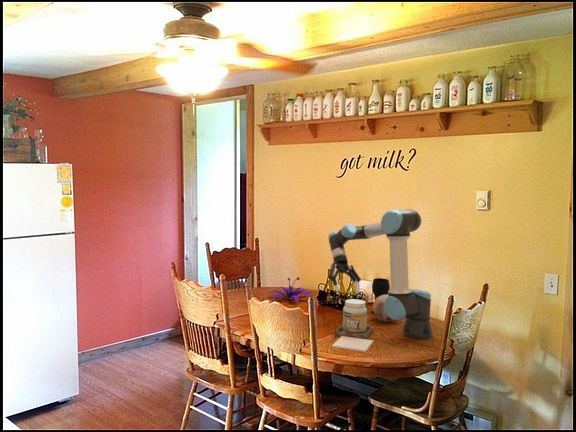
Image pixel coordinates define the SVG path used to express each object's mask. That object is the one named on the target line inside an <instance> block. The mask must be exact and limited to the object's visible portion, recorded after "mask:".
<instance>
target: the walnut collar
mask: <svg viewBox="0 0 576 432" xmlns="http://www.w3.org/2000/svg"><path fill="white" fill-rule="evenodd" d="M342 329H343V323H342V324H341V325H339V326H338V327H337V329H335V330H334V337H338V338H340V337H341V336H345V337H352V338H359V339H367V340H368V339H369V337H370V336H371V335H372V334H373V332H374V326H368V325H366V333H365V335H364V334H357V333H349V332H343V331H342Z"/></svg>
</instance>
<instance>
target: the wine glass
mask: <svg viewBox="0 0 576 432" xmlns="http://www.w3.org/2000/svg"><path fill="white" fill-rule="evenodd" d="M390 289H391V283H390V280H389V279H388V278H384V277H380V278H379V277H376V278H373V280H372V284H371V290H372V293H373V295H374V297H376V299H377V298H378V297H379V296H381V295H388V291H389V290H390ZM370 312H371V314H372V315H373V314H374V312H373V310H371V311H370ZM374 315H375V314H374Z"/></svg>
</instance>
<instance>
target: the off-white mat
mask: <svg viewBox="0 0 576 432" xmlns="http://www.w3.org/2000/svg"><path fill="white" fill-rule="evenodd" d="M373 343H374V340H373V339H368V338H367V339H359V338H352V337H345V336H341V337H338V338H337V340H336V341H335V342H334V343H333V344H332V345H331V347H332V348H337V349H342V350H351V351H357V352H364V353H367V351H368V350H369V348H370V347H371V346H372V344H373Z"/></svg>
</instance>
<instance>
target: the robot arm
mask: <svg viewBox="0 0 576 432" xmlns="http://www.w3.org/2000/svg"><path fill="white" fill-rule="evenodd" d="M421 224H422V217H421V215H420V214H419V212H418V211H416V210H415V209H411V208H409V209H408V208H407V209H406V208H405V209H389V210H387V211H386V212H385V213H384V214H383V215H382V217H381V220H380V221H376V222H373V223H370V224H365V225H359V226H355V225H354V224H352V223H347V224H345V225H343V226H342V227H341V228H340V229H339V230H338V231H332V232H331V233H329V234H328V243H329V248H330V251H331V254H332V255H331V256H332V258H333V262H332V263H331V264H330V271H329V275H328V279H329V280H330V281H331V282H332V284H333V286H334V290H335V292H338V291H340V285H339V279H338V278H337V277H338V275H339V274H345V275H347V276H348V277H349V278H350V279H351V280H352V282H353V285H354V290H355V294H357V295H358V294H359V293H361V290H360V283H359V282H361V281H362V279H361V277H360V276H359V274H358V273H357V271H356V270H355V269H354V266H353V265H349V263H348V257H347V253H346V249H345V246H344V245H345V244H346V243H348V242H349V241H355V240H369V239H371V238H374V237H380V236H384V235H385V236H386V238H387V239H388V241H389V268H390V269H389V270H390V290H389V291H388V297H387V298H386V299H385V300H384V309H385V312H386V314H388V316H389V317H390V318H392V319H394V321H396V320H404V319H406V320H405V322H404V325H403V327H402V335H404V336H405V337H407V338H411V339H416V340H425V339H426V340H427V339H431V338H432V337H433V336H434V332H433V331H434V330H433V328H432V324H431V307H432V306H431V304H432V303H431V302H432V297H431V296H432V295H431V293H430V292H428V291H425V290H421V289H414V288H410V287H409V262H408V261H409V258H408V257H409V256H408V255H409V254H408V240H409V239H410V237H411V233H413V232H416V231H417V230H418V229H420V227H421ZM335 269H336V270H335Z"/></svg>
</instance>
